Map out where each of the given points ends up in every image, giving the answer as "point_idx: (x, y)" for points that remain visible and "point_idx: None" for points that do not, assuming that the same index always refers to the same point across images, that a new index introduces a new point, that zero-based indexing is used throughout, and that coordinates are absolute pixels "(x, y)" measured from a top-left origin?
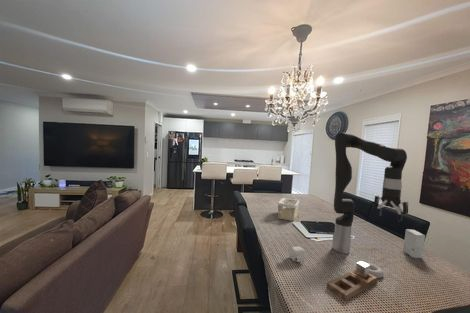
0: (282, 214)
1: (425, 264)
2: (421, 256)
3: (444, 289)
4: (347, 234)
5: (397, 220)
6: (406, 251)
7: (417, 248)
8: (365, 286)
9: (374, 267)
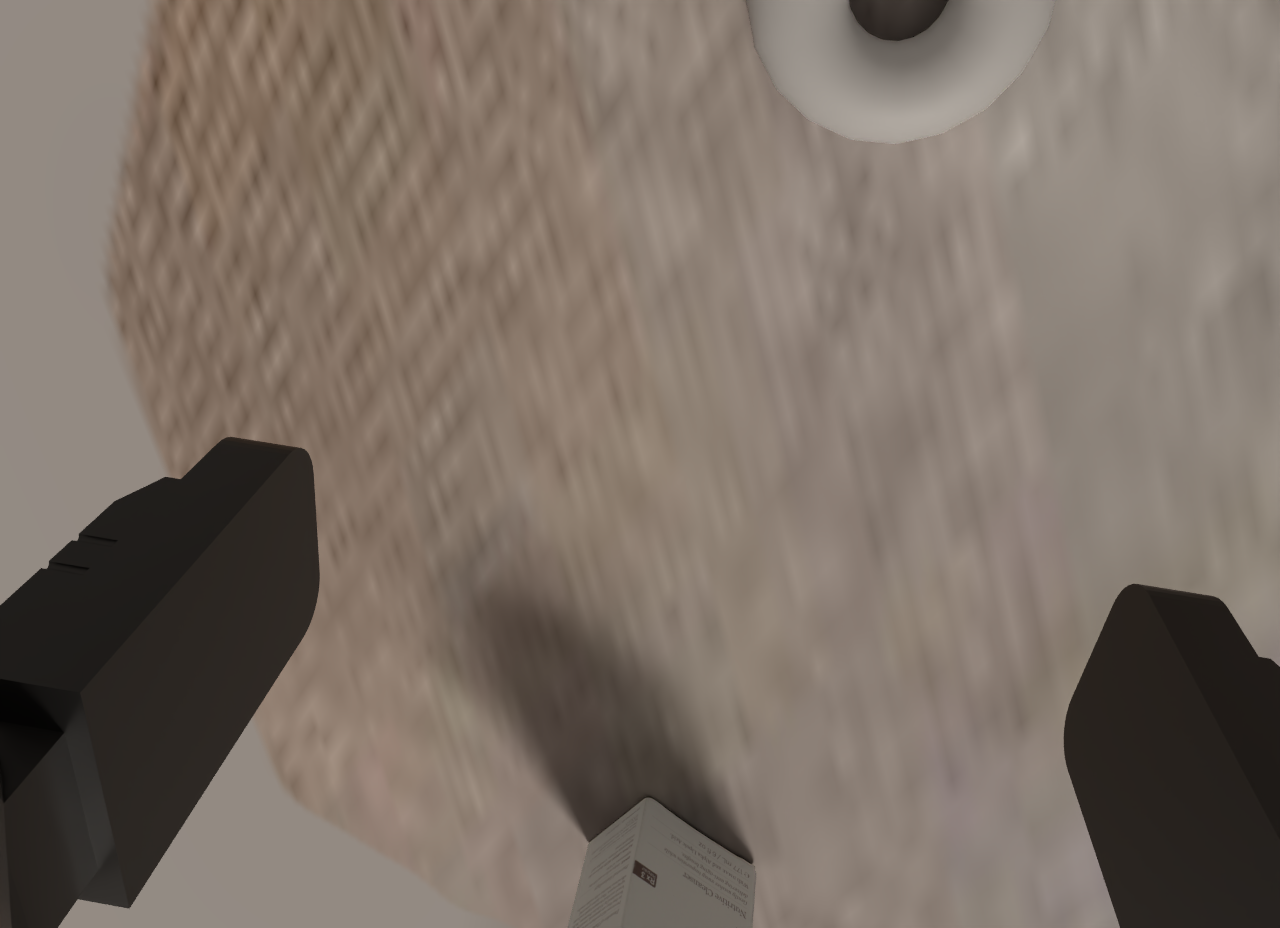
0: None
1: (529, 738)
2: (588, 853)
3: (267, 362)
4: None
5: (276, 449)
6: (716, 858)
7: (605, 905)
8: None
9: (883, 54)
